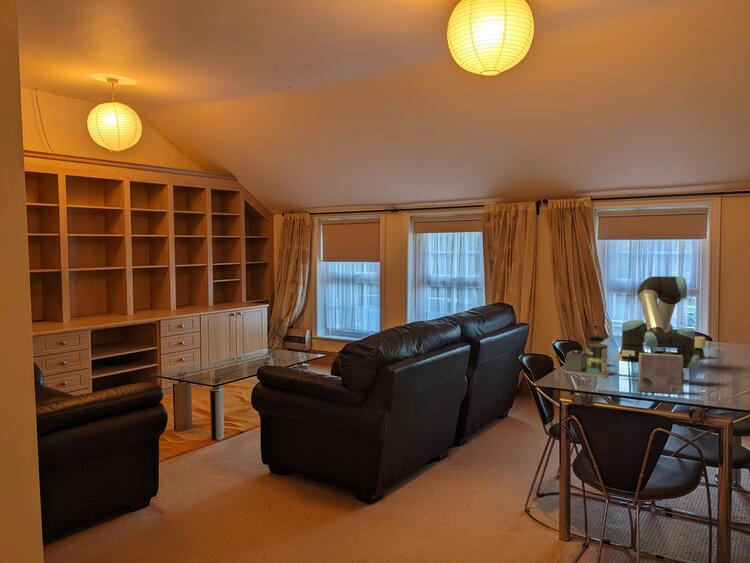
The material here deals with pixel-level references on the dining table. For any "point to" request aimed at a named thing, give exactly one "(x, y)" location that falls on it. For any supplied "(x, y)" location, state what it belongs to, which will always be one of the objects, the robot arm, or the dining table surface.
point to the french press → (595, 336)
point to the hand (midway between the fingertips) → (618, 354)
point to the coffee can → (597, 357)
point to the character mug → (700, 346)
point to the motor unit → (581, 365)
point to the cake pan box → (660, 373)
